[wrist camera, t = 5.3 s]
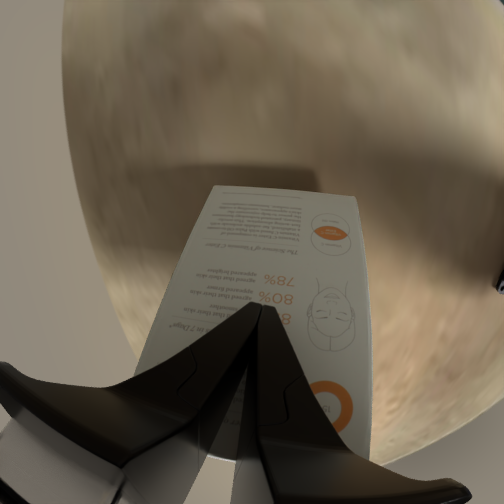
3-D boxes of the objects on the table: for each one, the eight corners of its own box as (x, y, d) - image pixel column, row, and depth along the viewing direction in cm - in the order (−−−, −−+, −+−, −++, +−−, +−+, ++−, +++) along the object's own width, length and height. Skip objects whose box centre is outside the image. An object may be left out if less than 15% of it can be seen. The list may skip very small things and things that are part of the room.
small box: (224, 257, 20) (168, 444, 12) (212, 181, 16) (110, 425, 7) (339, 269, 19) (328, 470, 10) (359, 194, 14) (372, 472, 6)
